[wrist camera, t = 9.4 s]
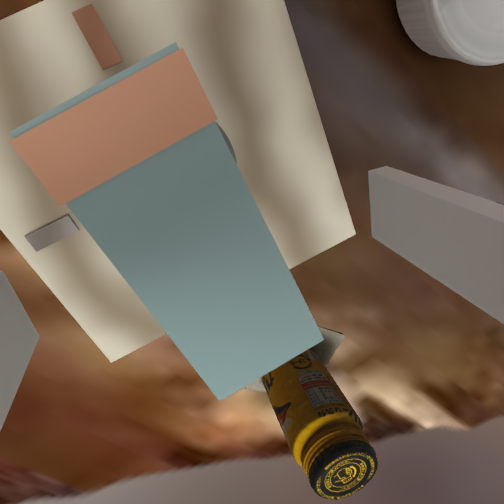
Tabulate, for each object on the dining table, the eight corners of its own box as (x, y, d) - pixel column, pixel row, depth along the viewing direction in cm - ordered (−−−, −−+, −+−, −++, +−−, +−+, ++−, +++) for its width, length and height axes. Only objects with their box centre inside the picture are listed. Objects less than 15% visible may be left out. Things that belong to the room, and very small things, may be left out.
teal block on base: (256, 224, 28) (349, 333, 16) (172, 271, 27) (200, 421, 15) (170, 56, 22) (210, 22, 10) (63, 114, 22) (-31, 152, 10)
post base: (245, -81, 23) (256, -97, 21) (344, 226, 33) (357, 235, 31) (-105, 77, 21) (-130, 77, 19) (112, 346, 31) (111, 365, 29)
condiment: (243, 387, 37) (286, 507, 27) (282, 315, 35) (345, 415, 24) (303, 398, 40) (363, 511, 29) (343, 333, 38) (423, 429, 27)
